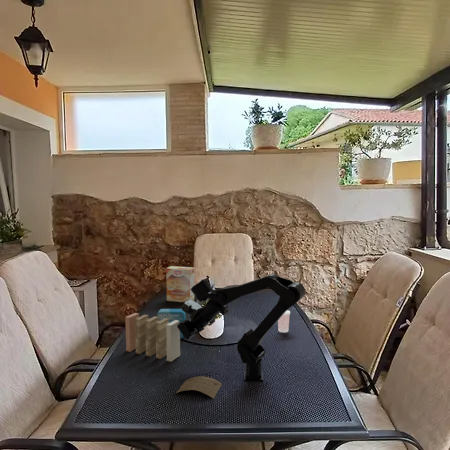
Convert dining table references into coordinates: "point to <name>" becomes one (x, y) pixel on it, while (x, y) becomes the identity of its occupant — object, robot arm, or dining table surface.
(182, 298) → the coffeecake box
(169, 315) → the data package
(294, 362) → the dining table surface
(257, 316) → the dining table surface
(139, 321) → the domino
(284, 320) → the beverage cup
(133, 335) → the end domino
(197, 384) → the curved brown sheet
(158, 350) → the domino
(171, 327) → the domino
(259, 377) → the robot arm
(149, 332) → the domino
